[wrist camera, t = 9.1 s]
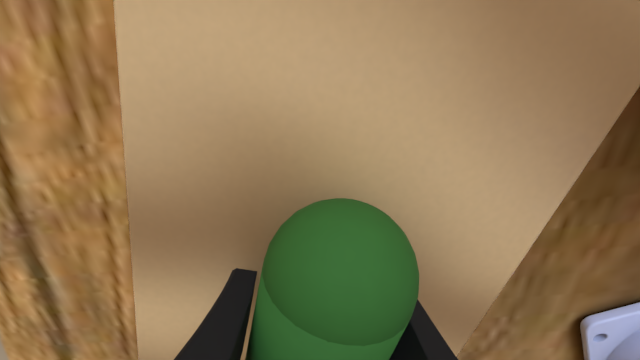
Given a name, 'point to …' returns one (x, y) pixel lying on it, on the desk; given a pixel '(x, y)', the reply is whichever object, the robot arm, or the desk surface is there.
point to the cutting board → (357, 135)
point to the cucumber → (334, 286)
